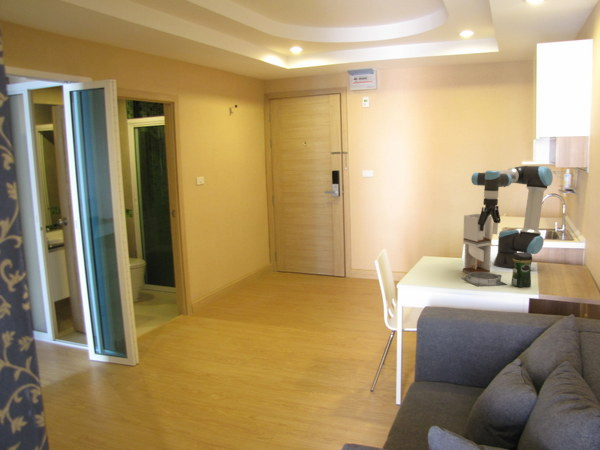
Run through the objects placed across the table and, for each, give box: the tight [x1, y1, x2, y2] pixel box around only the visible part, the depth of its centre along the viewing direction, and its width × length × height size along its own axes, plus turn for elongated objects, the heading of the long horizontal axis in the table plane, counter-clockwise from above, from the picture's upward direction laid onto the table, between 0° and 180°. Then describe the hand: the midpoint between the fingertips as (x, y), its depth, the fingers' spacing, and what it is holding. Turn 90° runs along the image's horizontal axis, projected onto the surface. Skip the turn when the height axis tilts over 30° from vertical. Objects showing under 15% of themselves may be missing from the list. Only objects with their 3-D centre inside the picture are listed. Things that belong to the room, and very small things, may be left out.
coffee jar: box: [510, 252, 533, 288], centre depth 276 cm, size 10×8×19 cm
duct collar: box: [461, 272, 508, 287], centre depth 285 cm, size 21×18×4 cm
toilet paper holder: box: [462, 213, 493, 274], centre depth 302 cm, size 11×11×35 cm
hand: (488, 235), depth 285 cm, fingers open, 13 cm apart
